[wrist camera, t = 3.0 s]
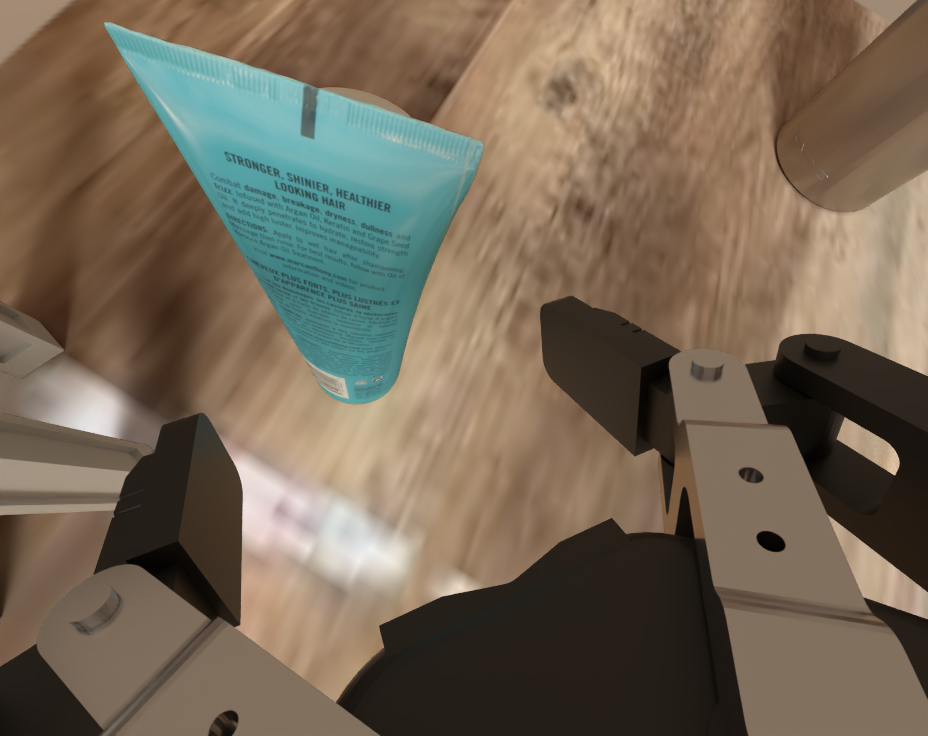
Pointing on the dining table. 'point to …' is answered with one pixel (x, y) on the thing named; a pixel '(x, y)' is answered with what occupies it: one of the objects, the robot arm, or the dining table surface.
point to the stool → (53, 441)
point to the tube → (314, 199)
